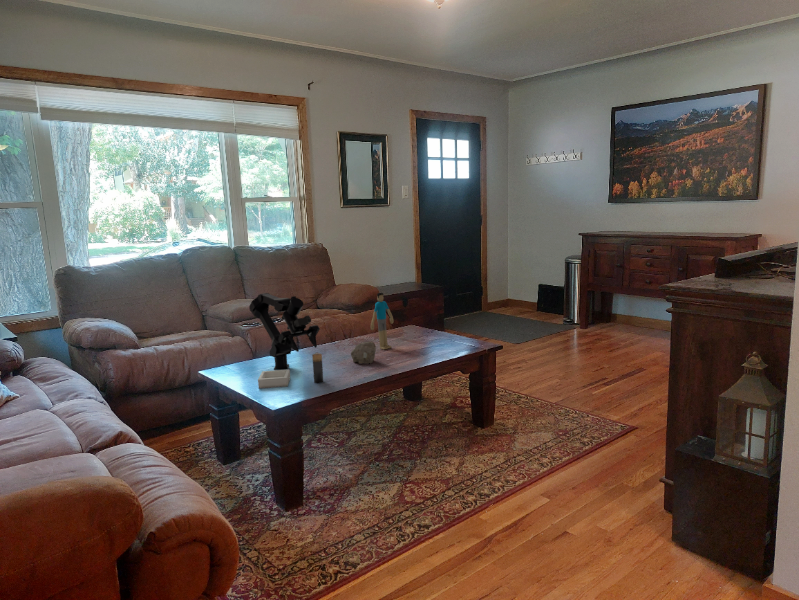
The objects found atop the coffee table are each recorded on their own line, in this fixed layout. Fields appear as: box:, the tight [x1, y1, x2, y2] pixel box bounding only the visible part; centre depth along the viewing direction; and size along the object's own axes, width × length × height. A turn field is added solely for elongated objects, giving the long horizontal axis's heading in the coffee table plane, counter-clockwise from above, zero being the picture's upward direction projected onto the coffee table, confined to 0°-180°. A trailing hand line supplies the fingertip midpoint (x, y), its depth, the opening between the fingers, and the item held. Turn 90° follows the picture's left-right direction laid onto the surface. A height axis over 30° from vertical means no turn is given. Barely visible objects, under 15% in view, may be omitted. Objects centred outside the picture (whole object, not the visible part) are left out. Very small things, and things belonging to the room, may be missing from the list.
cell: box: [311, 352, 324, 384], centre depth 234 cm, size 4×4×13 cm
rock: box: [350, 341, 377, 365], centre depth 261 cm, size 14×10×8 cm
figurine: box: [370, 292, 394, 350], centre depth 284 cm, size 16×6×30 cm, turn 135°
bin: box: [257, 369, 291, 389], centre depth 235 cm, size 12×12×4 cm
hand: (307, 349), depth 238 cm, fingers open, 9 cm apart
